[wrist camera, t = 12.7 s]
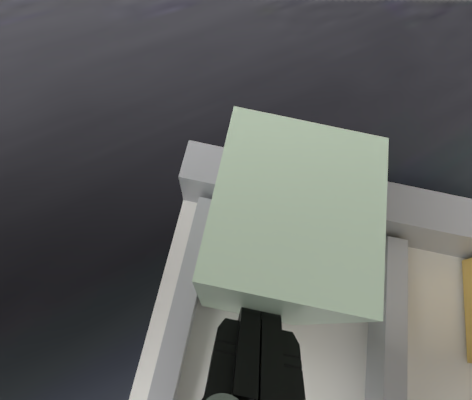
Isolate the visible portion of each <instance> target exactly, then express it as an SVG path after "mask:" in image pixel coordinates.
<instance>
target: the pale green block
mask: <svg viewBox="0 0 472 400" xmlns="http://www.w3.org/2000/svg"><path fill="white" fill-rule="evenodd" d="M388 147H389V138H386V137H381V136H376V135H371V134H366V133H361V132H357V131H352V130H347V129H342V128H337V127H332V126H328V125H323V124H318V123H313V122H308V121H303V120H299V119H294V118H289V117H284V116H279V115H274V114H270V113H265V112H260V111H255V110H250V109H245V108H241V107H236V106H234V108H233V112H232V116H231V120H230V125H229V129H228V133H227V137H226V141H225V145H224V150H223V154H222V158H221V162H220V166H219V170H218V175H217V179H216V183H215V187H214V191H213V195H212V200H211V204H210V208H209V212H208V216H207V221H206V225H205V229H204V233H203V237H202V241H201V246H200V250H199V254H198V258H197V262H196V266H195V271H194V275H193V279H192V283H193V285H194V288H195V290H196V293H197V295H198V298H199V300H200V303H201V305H202V306H204V307H209V308H214V309H219V310H223V311H228V312H233V313H238V314H239V313H240V309H241V307H244V308H248V309H253V310H258V311H261V312H262V311H263V312H267V313H272V314H277V315H281V320H282V323H285V324H290V325H311V324H336V323H360V322H383V310H384V278H385V245H386V213H387V180H388Z"/></svg>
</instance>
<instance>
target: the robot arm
mask: <svg viewBox="0 0 472 400" xmlns="http://www.w3.org/2000/svg"><path fill="white" fill-rule="evenodd" d="M202 400H306V398H305V389H304V380H303V371H302V362H301V353H300V344H299V343H298V341H297V339H296V337H295V335H294V333H293V332H290V331H285V330H282V320H281V315H277V314H272V313H267V312H263V311H262V312H261V311H258V310H253V309H248V308H244V307H241V309H240V313H239V317H238V320H233V319H228V318H225V319H224V320H223V321H222V323H221V324H220V325H219V326H218V329H217V333H216V338H215V342H214V347H213V351H212V356H211V361H210V366H209V372H208V377H207V382H206V387H205V393H204V397H203V398H202Z"/></svg>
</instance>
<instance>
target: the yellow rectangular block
mask: <svg viewBox="0 0 472 400" xmlns="http://www.w3.org/2000/svg"><path fill="white" fill-rule="evenodd" d="M462 273H463V292H464V310H465V328H466V347H467V363H472V258H469V259H466V260H462Z"/></svg>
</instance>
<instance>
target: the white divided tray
mask: <svg viewBox="0 0 472 400" xmlns="http://www.w3.org/2000/svg"><path fill="white" fill-rule="evenodd" d="M223 150H224V147H219V146H215V145H210V144H205V143H200V142H195V141H190V140H189V142H188V145H187V149H186V152H185V156H184V159H183V163H182V166H181V170H180V173H179V182H180V186H181V191H182V196H183V203H182V207H181V211H180V214H179V218H178V222H177V225H176V229H175V233H174V236H173V240H172V244H171V247H170V251H169V255H168V258H167V262H166V265H165V269H164V273H163V276H162V280H161V284H160V287H159V291H158V295H157V298H156V302H155V306H154V309H153V313H152V317H151V320H150V324H149V328H148V331H147V335H146V339H145V342H144V346H143V350H142V353H141V357H140V361H139V364H138V368H137V372H136V375H135V379H134V383H133V386H132V390H131V394H130V397H129V400H202V398H203V397H204V393H205V387H206V382H207V377H208V372H209V366H210V361H211V356H212V351H213V347H214V342H215V338H216V333H217V329H218V326H219V325H220V324H221V323H222V321H223V320H224V319H225V318H228V319H233V320H238V317H239V314H238V313H233V312H228V311H223V310H219V309H214V308H209V307H204V306H202V305H201V303H200V300H199V298H198V295H197V293H196V290H195V288H194V285H193V283H192V279H193V275H194V271H195V266H196V262H197V258H198V254H199V250H200V246H201V241H202V237H203V233H204V229H205V225H206V221H207V216H208V212H209V208H210V204H211V200H212V195H213V191H214V187H215V183H216V179H217V175H218V170H219V166H220V162H221V158H222V154H223ZM469 258H472V199H470V198H465V197H460V196H455V195H451V194H446V193H441V192H436V191H431V190H427V189H422V188H417V187H412V186H407V185H402V184H398V183H393V182H388V181H387V213H386V245H385V278H384V310H383V322H360V323H336V324H311V325H290V324H285V323H282V330H285V331H290V332H293V333H294V335H295V337H296V339H297V341H298V343H299V344H300V353H301V362H302V371H303V380H304V389H305V398H306V400H472V363H467V347H466V328H465V310H464V292H463V273H462V260H466V259H469Z"/></svg>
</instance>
